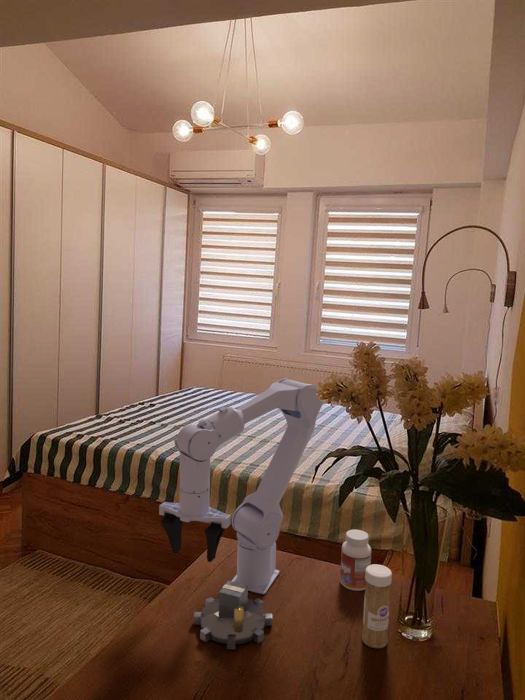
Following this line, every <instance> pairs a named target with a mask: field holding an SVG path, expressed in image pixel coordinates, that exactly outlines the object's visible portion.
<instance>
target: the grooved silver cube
mask: <svg viewBox="0 0 525 700" xmlns="http://www.w3.org/2000/svg"><path fill="white" fill-rule="evenodd" d="M231 581H232V580H228V581H226V583H225V584H224V585H223V586H222V588H221V589H220V590H219V592H218V599H219V618H221V619H225V620H228V621H232V622H234V608H235V607H236V606H242V607H243V608H244V610H243V616H244V615H245V613H246V612H247V602H248V599H249V597H248V595H249V593H248V592H249V591H248V585H243V584H239V583H235V582H231Z"/></svg>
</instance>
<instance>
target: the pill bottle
mask: <svg viewBox="0 0 525 700" xmlns="http://www.w3.org/2000/svg"><path fill="white" fill-rule="evenodd" d="M371 560H372V547H371V546H370V545H369V533H367V532H366V531H364V530H361V529H348V531H346V532H345V541H344V542H343V543H342V545H341V558H340V572H339V573H340V577H339V581H340V584H341V585H342V586H343V587H344V588H346V590H347V589H348V590H350V591H355V592H359V591H365V587H366V581H365V572H366V568H367V567H368V566H369V565H372V564H371V563H372V561H371Z"/></svg>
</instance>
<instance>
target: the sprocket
mask: <svg viewBox="0 0 525 700" xmlns="http://www.w3.org/2000/svg"><path fill="white" fill-rule="evenodd" d="M204 603H205V604H204V605H205V606H204V607H203V608H202V610H201V611H194V614H193V625H200V631H199V639H200V640H201V641H202V642H204V643H207V642H208V641H210V640H212V641H214V642H216V643H219V644H223V645H226V649H227V650H236V645H242V644H246V643H250V642H252V641H254V642H255V643H257V644H260V643H261V642H262V641H264V637H265V628H266V627H273V613H266V611H265V609H264V600H262V599H261V598H259V597H257V598H255V599H254V600H253V599H250V598H248V602H247V612H246V613H245V615H244V616H243V610H244V608H243V607H242V606H236V607H235V608H234V622H232V621H228V620H225V619H221V618H219V598H216V599H215V598H213V597H212V596H211V597H209V598H206V599H205V601H204Z"/></svg>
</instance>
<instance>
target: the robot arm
mask: <svg viewBox="0 0 525 700" xmlns="http://www.w3.org/2000/svg"><path fill="white" fill-rule="evenodd" d="M317 389H319V388H318V386H317V385H315V384H312V383H305V382H300V381H297V380H293V379H290V378H289V377H285V378H281V379H279V380H278V381H276V382H273V383H271V384H270V386H269V387H268V389H266V390H264V391H263V392H261V393H260V394H258V395H257V396H255V397H253V398H252V399H250V400H249V401H246V402H245V403H244V404H243V405H241V406H238V408H235V407H232V406H227V407H225V406H222V407H220V408H219V409H218V412H216V413H214V414H213V415H210V416H209V417H208V418H207V417H206V418H205V419H204V418H202V419H200V420H199V421H198V423H197V424H191V423H190V424H187V425H185V426H183V427H182V428H181V429H179V432H178V433H177V436H176V439H174V446H175V448H176V450H177V451H178V452H179V502H168V501H164V502H163V503H161V504H159V507H158V508H159V513H158V515H159V516H163V518H162V519H161V520H160V525H161V526H162V528H163V529H164V531H165V533H166V535H167V538H168V541H169V543H170V547H171V551H172V554H175V555H176V554H177V553H178V552H179V551H180V550H181V548H182V530H183V522H184V523H190V522H192V521H194V522H199V523H200V522H201V523H204V524H210V525H209V526H208V527H206V528H204V534H205V538H206V560H207V562H209V563H212V562H213V561H214V560H215V558H216V555H217V551H218V547H219V544H220V541H221V539H222V536H223V534H224V532H225V530H226V529H228V528H229V527H230V525H231V526H232V528H233V529H234V531H236V537H237V551H236V552H237V557H236V575H234V577H233V579H232V580H230V581H231V582H235V583H239V584H243V585H248V592H251V593H256V594H260V595H265V594H266V593H267V592H268V590H269V589H270V587H271V586H272V584H273V582H275V580H276V579H277V577H278V575H280V570H278V569H276V564H277V563H276V560H277V559H276V558H277V556H276V555H277V544H276V543H277V542H276V541H277V540H278V538H279V535H280V531H281V529H280V527H281V524H282V521H283V519H284V515H283V512H282V509H281V505H280V503H281V500H282V498H283V496H284V494H285V492H286V490H287V488H288V486H289V484H290V481H291V479H292V477H293V475H294V474H295V471H296V469H297V467H298V465H299V462H300V460H301V458H302V457H303V454H304V452H305V450H306V448H307V446H308V444H309V442H310V440H311V436H312V435H313V433H314V430H315V428H316V424H317V423H316V422H317V417H318V415H319V413H320V410H321V409H322V407H323V405H324V401H323V402H321V401H320V400H319V399H318V398H317V395H316V391H317ZM277 409H279V410H280V412H281V414H282V415H283V416H284V419H285V421H286V424H287V427H286V429H285V431H284V433H283V435H282V437H281V439H280V442H279V444H278V445H277V447H276V450H275V452H274V454H273V456H272V458H271V460H270V462H269V463H268V466H267V469H266V470H265V473H264V475H263V477H262V478H261V480H260V482H259V485H258V486H257V489H256V491H255V492H253V493H250V494H248V495H246V496H245V497H244V499H243V500H242V503H241V504H240V505H239V506H238V507H236V509H235V511H233V514H232V515H231V514H228V513H224V512H222V511H220V510H218V509H214V508H213V507H210V498H211V496H210V493H211V491H210V489H211V458H212V457H213V456H214V455H215V453H216V452H217V451H216V450H217V449H218V448H219V447H220V446H221V445H223V444H225V443H226V442H228V441H229V440H231V439H233V438H235V437H237V436H238V435H240V434H242V433H243V432H244V430H245V426H246V424H247V423H249V422H252V421H254V420H256V419H258V418H260V417H263V416H264V415H266V414H268V413H271V412H272V411H274V410H277Z"/></svg>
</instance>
